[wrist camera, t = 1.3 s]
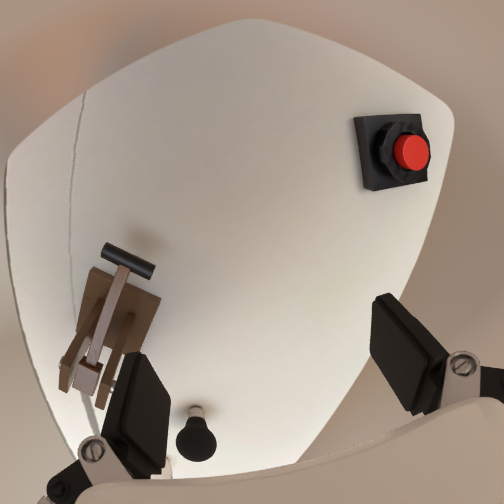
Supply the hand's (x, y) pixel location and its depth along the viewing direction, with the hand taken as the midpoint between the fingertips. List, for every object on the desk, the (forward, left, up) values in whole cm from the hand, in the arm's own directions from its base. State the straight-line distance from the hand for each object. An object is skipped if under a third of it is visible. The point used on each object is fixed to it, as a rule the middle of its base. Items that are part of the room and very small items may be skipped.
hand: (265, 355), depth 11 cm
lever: (+4, -14, -13) cm, 20 cm away
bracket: (+8, -17, -20) cm, 28 cm away
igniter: (-4, +19, -20) cm, 28 cm away
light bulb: (+28, -13, -21) cm, 37 cm away
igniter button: (-4, +19, -17) cm, 26 cm away
